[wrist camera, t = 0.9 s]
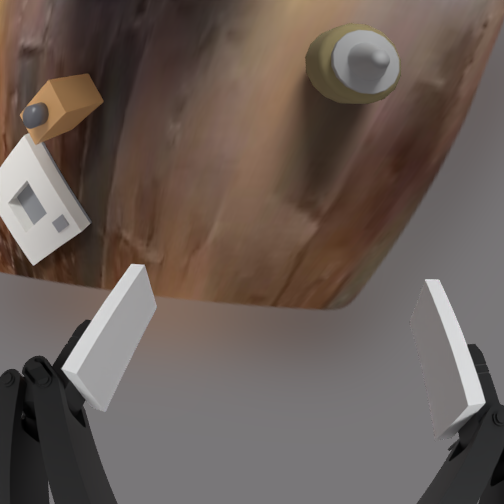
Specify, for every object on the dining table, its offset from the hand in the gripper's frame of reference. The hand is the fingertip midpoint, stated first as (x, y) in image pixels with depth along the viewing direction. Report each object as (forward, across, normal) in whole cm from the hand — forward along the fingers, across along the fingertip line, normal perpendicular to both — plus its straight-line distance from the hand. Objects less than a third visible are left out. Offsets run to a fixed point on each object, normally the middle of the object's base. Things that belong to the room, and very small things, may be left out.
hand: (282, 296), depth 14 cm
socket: (+25, -43, -6) cm, 50 cm away
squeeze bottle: (+25, +5, +10) cm, 28 cm away
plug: (+25, -28, +9) cm, 39 cm away
